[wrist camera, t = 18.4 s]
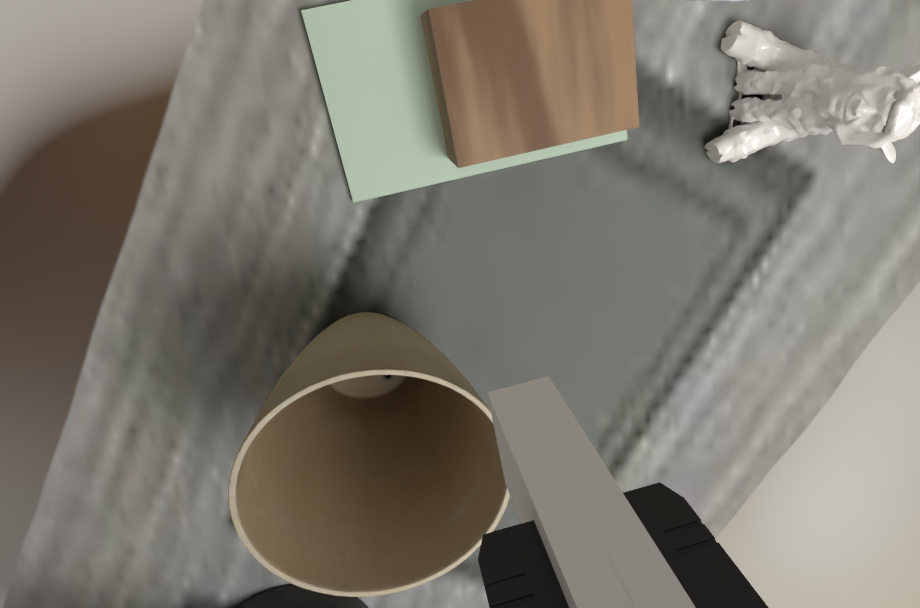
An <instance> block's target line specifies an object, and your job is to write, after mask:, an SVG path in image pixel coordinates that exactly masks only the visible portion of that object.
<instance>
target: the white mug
mask: <svg viewBox="0 0 920 608" xmlns="http://www.w3.org/2000/svg"><path fill="white" fill-rule="evenodd" d="M672 1H743V0H672Z"/></svg>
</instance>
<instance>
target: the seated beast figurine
mask: <svg viewBox="0 0 920 608" xmlns="http://www.w3.org/2000/svg"><path fill="white" fill-rule="evenodd" d="M725 34H726V36H727V37H725V38H723V39H721V50H722V51H723V52H724V53H726V54H727V55H728V56H731V57H734V58H735V60H737V76H736V78H735V81H736V83H737V85H736V86H734V89H735V90H736V91H737V92H739V97H738V100H736V101H734V102H732V104H731V106H733V107H735V109H733V110H729V114H730V121H729V127H728V129H727V130H725V131H724V133H723V135H721V136H719V137H717V138H715V139H713V140H711V141H710V142H708V143H707V144H706V145H705V146H704V147H705V149H707V150H708V151H707V152H706V154H707V156H708V157H709V158H710V159H711V160H712V161H713V162H715V163H721V162H725V161H728V160H729V161H730V162H736V161H737V160H739V159H745V158H746V157H747V156H748V155H749V154H752V153H754V152H756V151H758V150H760V149H762V148H764V147H766V146H770V145H776V144H777V143H778V142H780V141H783V140H784V141H786V142H790V141H791V140H795V139H797V138H801V137H805V136H807V135H808V134H811V135H815V136H816V135H818V134H824V135H827V134H829V133H830V132H832V131H833V130H834V131H835V133H836V137H837V139H838V141H839V142H840V144H842V145H844V144H859V145H863V146H868V147H869V148H872V149H874V150H876V151H879V152H881V153H883V154H885V156H886V157H887V159H888V160H889V161H890V162H891V163H894V162H895V160H896V152H895V148H894V146H893V144H892V142H895V141H897V140H899V139H903V138H906V137H907V136H908V135H909V134H910V133H912V132H913V131H914V130H915V129H916V127H917V126H918V125H919V124H920V85H919V84H918V83H919V82H920V65H917V66H913V67H910V68H907V69H905V70H903V71H901V72H898V71H895V70H892V69H889V68H887V67H885V66H876V67H875V68H874V69H871V70H868V71H858V70H857V69H856V68H855V67H852V66H851V65H849V64H846V65H845V64H843V63H841V62H840V61H839V60H838V59H829V58H828V56H827V55H826V54H821V55H818V54H817V53H816V52H815V51H812V50H811V49H807V50H805V49H800V48H798V47H796V46H793V45H791V44H789V43H788V42H787V41H782V40H779V39H778V38H777V37H776V36H774V35H773V34H772V32H771V31H769V30H766V31H765V30H762V29H761V28H759V27H755V26H753V25H751V24H749V23H746V22H743V21H736V22H734V23H733V24H731V25H730V26H729V27H728V29H727V30H726V33H725ZM748 66H749V67H754V68H755V69H753V70H748ZM743 94H745V95H751V94H762V97H763V100H761V99H759V98H758V97H754V98H751V97H747V98H744V99H742V95H743ZM733 119H734V120H737V121H740V125H736V126H735V127H733ZM744 122H747V123H745V124H744Z"/></svg>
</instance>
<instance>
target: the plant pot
mask: <svg viewBox="0 0 920 608" xmlns="http://www.w3.org/2000/svg"><path fill="white" fill-rule="evenodd" d="M385 375H390V376H391V377H390V378H386V377H385ZM228 497H229V509H230V513H231V517H232V521H233V524H234V526H235V529H236V531H237V534H238V535H239V537H240V539H241V541H242V543H243V544H244V545H245V547H246V548H247V550H248V551H249V552H250V553H251V554H252V555H253V557H254V558H255V559H256V560H257V561H258V562H259V563H260V564H261V565H263V566H264V567H265V568H266V569H268V570H269V571H270V572H272V573H273V574H275V575H277V576H278V577H280V578H281V579H283V580H285V581H287V582H290V583H292V584H294V585H296V586H299V587H301V588H304V589H308V590H311V591H315V592H319V593H324V594H329V595H335V596H348V597H362V596H377V595H384V594H390V593H395V592H399V591H404V590H407V589H410V588H413V587H416V586H419V585H421V584H424V583H427V582H429V581H431V580H433V579H435V578H437V577H439V576H441V575H443V574H445V573H446V572H448V571H450V570H451V569H453V568H454V567H456V566H457V565H459V564H460V563H462V562H463V561H464V560H465V559H466V558H468V557H469V556H470V555H471V554H472V553H473V552H474V551H475V550H476V549H477V548H478V547H479V546H480V545H481V542H482V537H483V534H487V533H490V532H492V531H493V530H494V529H495V527H496V525H497V524H498V522H499V520H500V519H501V517H502V515H503V513H504V510H505V508H506V506H507V503H508V501H509V497H510V494H509V491H508V489H507V486H506V483H505V479H504V474H503V469H502V464H501V459H500V454H499V449H498V444H497V439H496V434H495V429H494V424H493V419H492V414H491V411H490V409H489V408H488V407H487V405H486V404H485V403H484V401H483V400H482V399H481V397H480V396H479V395H478V394H477V392H476V391H475V390H474V388H473V387H472V386H471V384H470V383H469V382H468V381H467V379H466V378H465V377H464V376H463V375H462V373H461V372H460V371H459V370H458V369H457V368H456V367H455V366H454V364H453V363H452V362H451V361H450V360H449V359H448V358H447V357H446V356H445V355H444V354H443V353H442V352H441V351H439V350H438V349H437V348H436V347H435V346H434V345H433V344H431V343H430V342H429V341H428V340H427V339H425V338H424V337H423V336H422V335H420V334H419V333H417V332H416V331H414V330H413V329H412V328H410V327H408V326H406V325H405V324H403V323H401V322H399V321H397V320H395V319H393V318H391V317H388V316H385V315H382V314H379V313H373V312H361V313H355V314H351V315H348V316H346V317H343V318H341V319H339V320H337V321H336V322H334V323H333V324H331V325H330V326H329V327H327V328H326V329H325V330H323V331H322V332H321V333H320V334H318V335H317V336H316V337H315V338H314V339H313V340H312V341H311V342H310V343H309V344H308V345H307V346H306V347H305V348H304V349H303V350H302V351H301V352H300V354H299V355H298V356H297V357H296V358H295V359H294V361H293V362H292V363H291V364H290V366H289V367H288V368H287V370H286V371H285V372H284V373H283V375H282V376H281V378H280V379H279V380H278V382H277V383H276V385H275V386H274V388H273V389H272V391H271V393H270V394H269V396H268V398H267V399H266V401H265V403H264V404H263V406H262V408H261V410H260V412H259V414H258V416H257V417H256V419H255V421H254V423H253V425H252V427H251V429H250V430H249V432H248V434H247V436H246V438H245V440H244V442H243V444H242V446H241V448H240V450H239V452H238V454H237V457H236V460H235V462H234V465H233V468H232V471H231V476H230V481H229V491H228Z"/></svg>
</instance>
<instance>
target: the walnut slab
mask: <svg viewBox="0 0 920 608" xmlns="http://www.w3.org/2000/svg"><path fill="white" fill-rule="evenodd" d="M420 16H421V21H422V26H423V31H424V36H425V41H426V46H427V51H428V57H429V62H430V67H431V72H432V77H433V82H434V87H435V92H436V98H437V103H438V108H439V113H440V118H441V123H442V128H443V133H444V139H445V144H446V149H447V154H448V159H449V160H450V161H452V162H453V163H454V164H455V165H456V166H457V167H458V168H462V167H466V166H470V165H475V164H479V163H484V162H488V161H492V160H497V159H501V158H506V157H510V156H514V155H519V154H523V153H527V152H532V151H536V150H541V149H545V148H549V147H554V146H558V145H562V144H567V143H571V142H576V141H580V140H584V139H589V138H593V137H597V136H602V135H606V134H611V133H615V132H619V131H624V130H628V129H632V128H637V127H639V115H638V97H637V80H636V62H635V45H634V27H633V10H632V0H472V1H467V2H462V3H457V4H452V5H447V6H442V7H437V8H432V9H428V10H427V11H425V12H423V13H422V14H420Z"/></svg>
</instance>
